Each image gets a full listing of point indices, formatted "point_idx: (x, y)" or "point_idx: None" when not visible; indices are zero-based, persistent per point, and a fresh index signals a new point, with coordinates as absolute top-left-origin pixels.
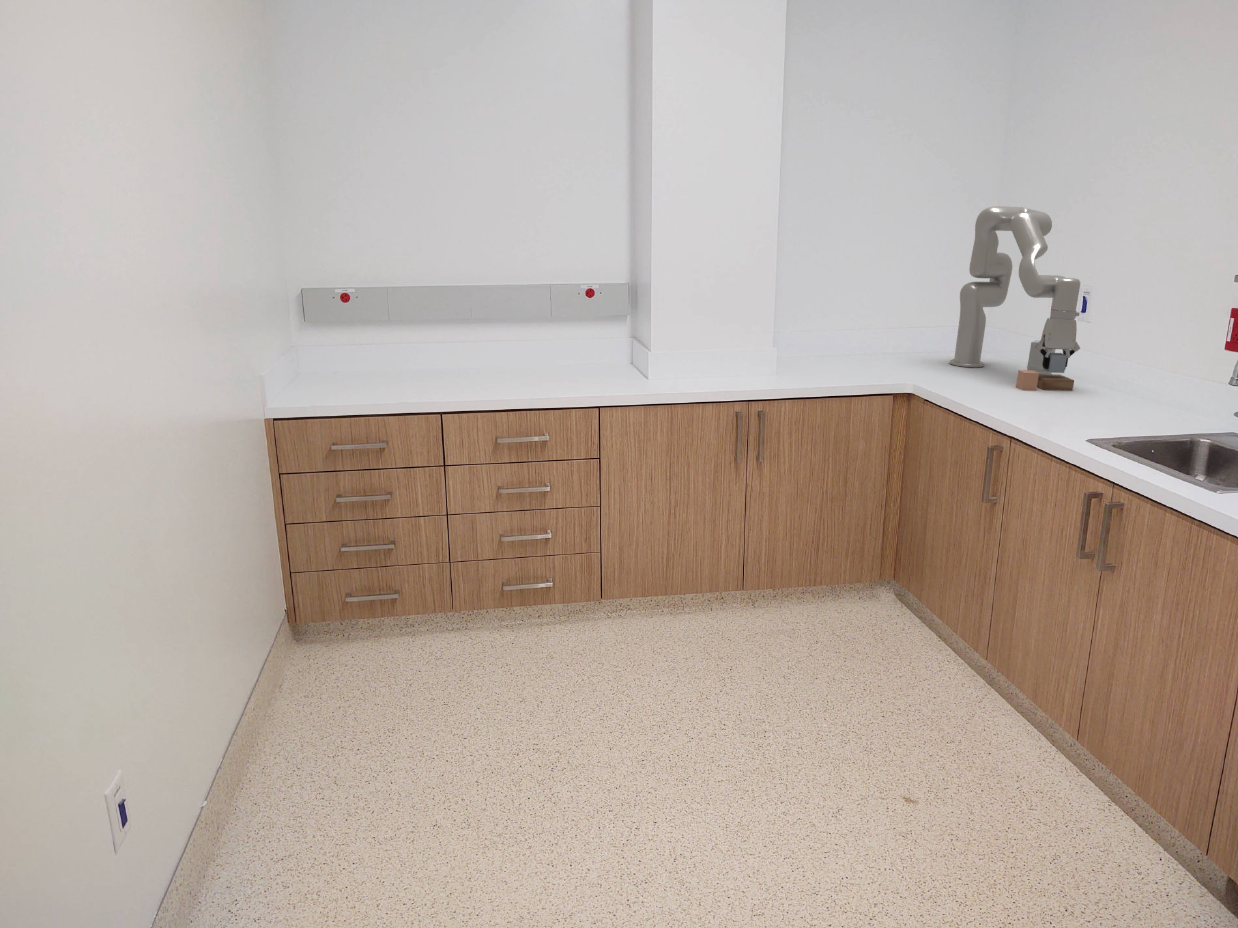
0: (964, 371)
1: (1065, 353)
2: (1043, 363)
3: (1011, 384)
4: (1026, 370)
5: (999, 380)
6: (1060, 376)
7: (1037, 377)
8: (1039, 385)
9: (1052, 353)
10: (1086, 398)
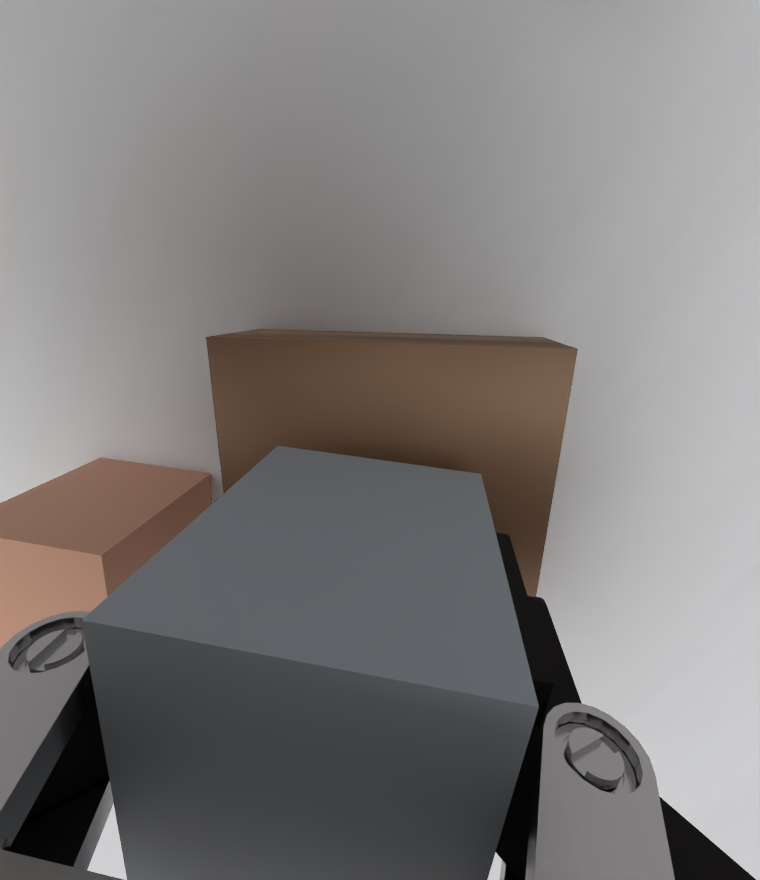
0: None
1: (588, 848)
2: None
3: (90, 352)
4: (25, 560)
5: (17, 147)
6: (496, 480)
7: None
8: None
9: (212, 750)
10: None
